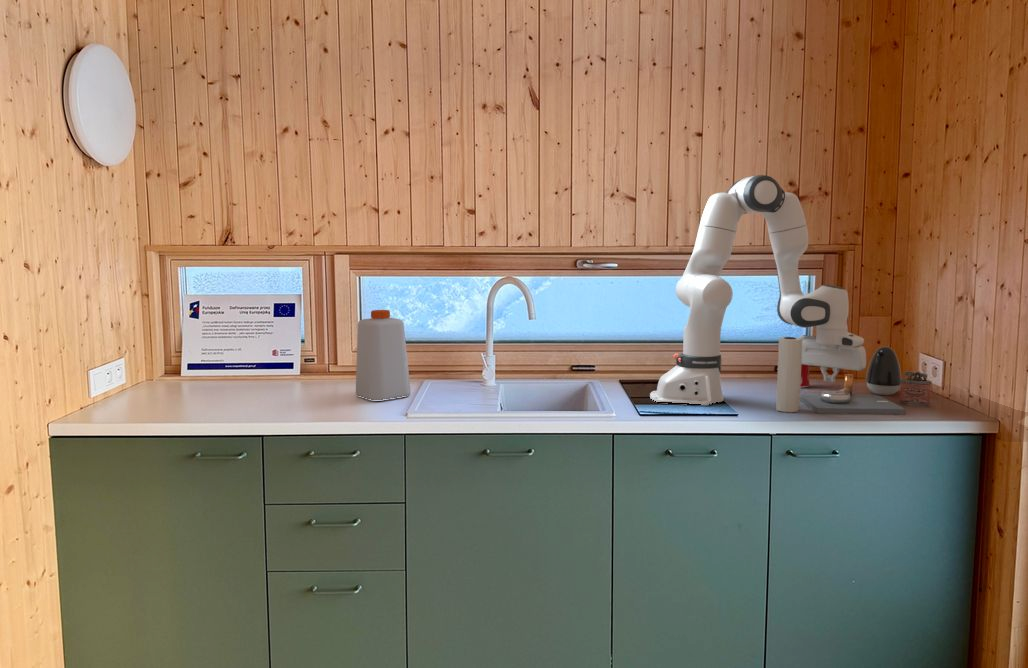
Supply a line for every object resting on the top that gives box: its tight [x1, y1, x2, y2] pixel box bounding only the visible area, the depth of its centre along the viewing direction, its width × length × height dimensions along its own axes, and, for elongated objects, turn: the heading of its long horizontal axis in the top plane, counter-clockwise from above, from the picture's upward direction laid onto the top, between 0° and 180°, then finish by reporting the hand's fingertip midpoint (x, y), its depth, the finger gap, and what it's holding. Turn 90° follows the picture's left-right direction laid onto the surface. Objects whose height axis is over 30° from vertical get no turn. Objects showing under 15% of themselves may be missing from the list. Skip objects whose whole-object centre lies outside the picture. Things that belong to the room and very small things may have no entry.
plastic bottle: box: [355, 309, 412, 400], centre depth 231 cm, size 15×15×28 cm
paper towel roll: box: [775, 336, 803, 413], centre depth 207 cm, size 7×6×21 cm
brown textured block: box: [898, 370, 933, 408], centre depth 213 cm, size 8×3×10 cm, turn 59°
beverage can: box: [800, 364, 810, 389], centre depth 240 cm, size 6×6×15 cm
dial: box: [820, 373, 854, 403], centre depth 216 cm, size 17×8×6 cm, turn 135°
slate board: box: [800, 393, 906, 415], centre depth 213 cm, size 24×18×2 cm
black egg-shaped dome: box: [865, 346, 903, 396], centre depth 228 cm, size 10×10×15 cm
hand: (829, 381), depth 224 cm, fingers closed
